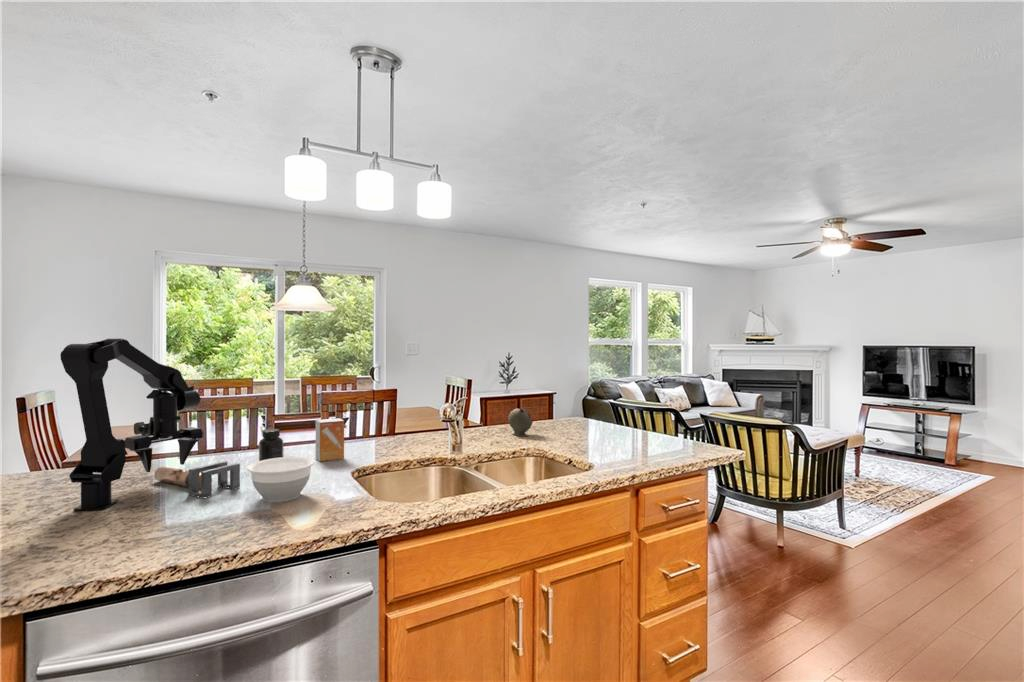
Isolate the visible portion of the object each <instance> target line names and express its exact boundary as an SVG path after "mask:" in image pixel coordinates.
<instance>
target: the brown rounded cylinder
mask: <svg viewBox="0 0 1024 682" xmlns="http://www.w3.org/2000/svg"><path fill="white" fill-rule="evenodd" d="M153 476H154V479H155V480H156V481H158V482H162V483H163V482H164V483H169V484H172V485H178V486H184V487H187V488H189V470H185V469H180V468H176V467H175V468H174V467H170V466H169V467H167V466H160V467H158V468H157V469H156V470H155V471H154V475H153ZM199 490H201V473H199Z"/></svg>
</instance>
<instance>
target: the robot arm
mask: <svg viewBox="0 0 1024 682" xmlns="http://www.w3.org/2000/svg"><path fill="white" fill-rule="evenodd" d="M60 360H61V364H62V367H63V369H64V371H65V373H66V374H67V375H68V376H69V377H70V378H71V379H72V380H73V381H74V383H75V385H76V387H75V388H76V392H77V397H78V403H79V408H80V412H81V418H82V423H83V430H84V434H85V442H84V445H83V446H82V448H81V450H80V461H79V462H78V464H77V465H76V466H75V468H73V470H72V471H71V473H70V474H69V476H68V477H69V479H70V481H71V483H72V484H73V483H74V484H75V483H78V484H79V483H80V505H78V506H76V507H74V508H73V509H72V511H74V512H76V511H77V512H79V511H97V510H105V509H107V508H109V507H110V506H112V505H114V504H116V503H118V502H119V499H118V498H112V496H113V495H112V482H114V481H119V480H121V477H122V473H123V471H124V467H125V464H126V461H127V459H126V457H127V455H128V452H127V450H126V449H128V450H129V451H131V452H134V453H136V454H137V456H138V458H139V459H140V462H141V464H142V466H143V468H144V470H145V472H146V473H150V472H151V470H152V469H151V468H152V462H153V461H152V460H153V459H152V458H153V447H151V445H152V444H157V443H161V442H167V441H174V440H177V442H178V444H179V464H180V465H181V466H182V465H185V463H186V461H187V459H188V457H189V455H190V453H191V451H192V449H194V446H195V445H196V443H197V442H199V441H200V439H203V438H204V431H203V429H202V428H201V427H192V426H191V427H185V428H184V427H183V428H179V429H178V421H180V420H181V415H178V411H184V410H188V409H194V408H197V407H198V406H199V405H200V402H201V396H200V394H199V392H198V391H197V390H196V389H195V387H194V385H188V384H187V382H186V380H185V379H184V377H183V375H182V372H181V371H180V370H179V369H177V368H175V367H172V366H170V365H166V364H162V363H159V362H157V361H156V360H154V359H152V358H151V357H149V356H148V355H147V354H146V353H144V352H142V351H141V350H139V348H137V347H135V346H133V345H132V344H131V343H130V342H129V341H128V340H127V339H124V338H105V339H103V340H100V341H95V342H89V343H70V344H68V345H66V346H65V347H64V348H63V350H62V351H61V352H60ZM113 360H118V361H119V362H120V363H122V364H123V365H125V366H127V367H129V368H130V369H131V370H134V371H135V372H137V373H138V374H140V375H141V376H142V377H143V381H144V382H145V383H146V384H147V386H149V387H150V388H151V389H152V391H151V392H150V393H149V394H147V396H146V399H149V400H151V399H152V416H150V418H149V423H145V422H144V421H139V422H135V423H133V433H134V435H133V436H128V437H125V438H124V439H121V438H118V439H117V438H116V437H115V436H114V435H113V433H112V426H111V420H110V413H109V407H108V403H107V402H108V401H107V398H106V393H105V387H104V377H105V375H106V373H107V370H108V369H109V361H113Z"/></svg>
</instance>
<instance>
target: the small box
mask: <svg viewBox="0 0 1024 682" xmlns="http://www.w3.org/2000/svg"><path fill="white" fill-rule="evenodd" d="M316 458H317V459H318V460H317V459H316ZM315 459H316V460H317V461H319V462H325V461H326V460H327V461H337V460H344V459H345V420H344V419H342V418H337V417H336V418H328V419H315ZM336 459H337V460H336Z"/></svg>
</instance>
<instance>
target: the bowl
mask: <svg viewBox="0 0 1024 682" xmlns="http://www.w3.org/2000/svg"><path fill="white" fill-rule="evenodd" d="M314 464H316V462H315V460H314V459H313V458H310V457H305V456H283V457H280V458H272V459H266V460H262V461H259V460H258V461H255V462H251V464H249V465H247V467H246V470H247V472H250V474H251V481H252V484H253V487H254V488H255V489H256V491H257V493H258V494H259V495H260V496H261V497H262V501H263V500H264V501H263V502H265V501H266V503H271V502H277V503H283V502H284V501H286V502H290V501H293V499H294V500H296V499H298V498H300V497H301V493H302V491H303V490H304V488H305V487H306V485H307V483H308V482H309V480H310V476H311V468H312V466H314ZM289 500H290V501H289ZM284 503H285V502H284Z"/></svg>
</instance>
